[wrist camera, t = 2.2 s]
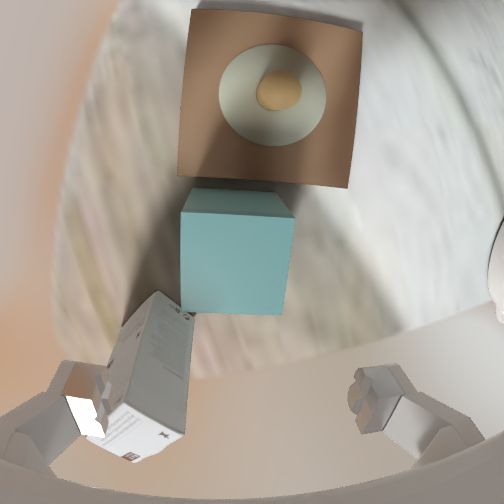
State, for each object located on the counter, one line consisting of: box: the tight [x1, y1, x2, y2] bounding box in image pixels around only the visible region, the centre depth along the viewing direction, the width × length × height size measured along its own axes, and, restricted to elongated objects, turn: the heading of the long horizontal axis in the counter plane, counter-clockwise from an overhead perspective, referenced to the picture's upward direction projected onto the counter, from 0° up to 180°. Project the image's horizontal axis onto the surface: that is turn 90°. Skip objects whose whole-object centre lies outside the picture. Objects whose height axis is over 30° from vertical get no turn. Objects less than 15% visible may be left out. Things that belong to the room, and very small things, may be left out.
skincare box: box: [85, 291, 195, 463], centre depth 21 cm, size 6×4×12 cm
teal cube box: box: [180, 188, 295, 315], centre depth 21 cm, size 6×6×7 cm
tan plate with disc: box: [177, 9, 363, 189], centre depth 19 cm, size 12×12×4 cm
